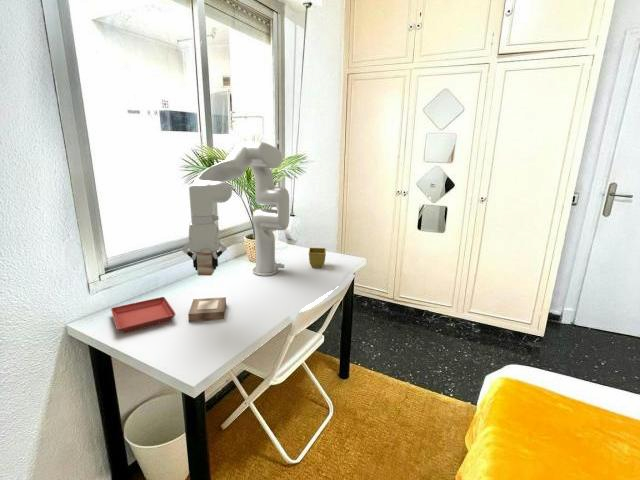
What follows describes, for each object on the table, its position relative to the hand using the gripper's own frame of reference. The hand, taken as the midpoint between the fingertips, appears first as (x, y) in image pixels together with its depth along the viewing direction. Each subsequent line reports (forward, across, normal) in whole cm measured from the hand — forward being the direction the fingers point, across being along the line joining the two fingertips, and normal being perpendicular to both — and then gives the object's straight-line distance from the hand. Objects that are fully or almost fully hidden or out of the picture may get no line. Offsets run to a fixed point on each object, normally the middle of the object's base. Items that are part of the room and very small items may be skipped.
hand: (206, 268), depth 121 cm
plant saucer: (+18, +22, +1) cm, 29 cm away
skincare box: (+2, 0, 0) cm, 2 cm away
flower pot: (+18, -50, -44) cm, 69 cm away
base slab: (+17, 0, 0) cm, 17 cm away
